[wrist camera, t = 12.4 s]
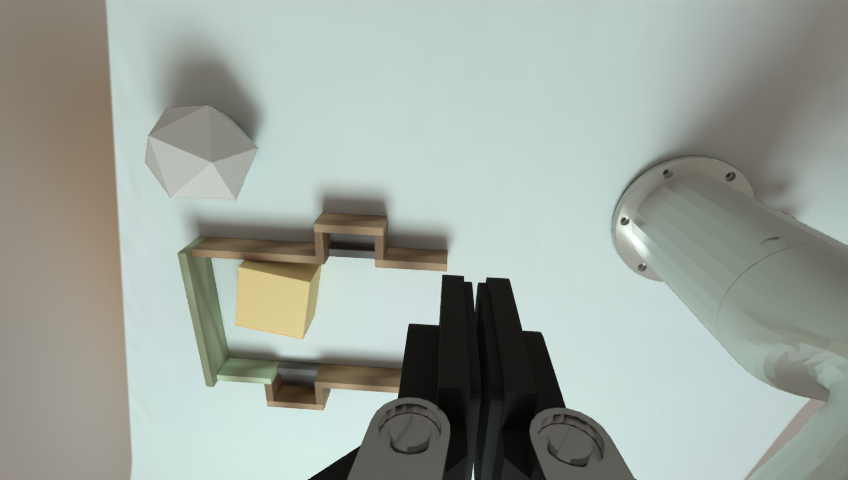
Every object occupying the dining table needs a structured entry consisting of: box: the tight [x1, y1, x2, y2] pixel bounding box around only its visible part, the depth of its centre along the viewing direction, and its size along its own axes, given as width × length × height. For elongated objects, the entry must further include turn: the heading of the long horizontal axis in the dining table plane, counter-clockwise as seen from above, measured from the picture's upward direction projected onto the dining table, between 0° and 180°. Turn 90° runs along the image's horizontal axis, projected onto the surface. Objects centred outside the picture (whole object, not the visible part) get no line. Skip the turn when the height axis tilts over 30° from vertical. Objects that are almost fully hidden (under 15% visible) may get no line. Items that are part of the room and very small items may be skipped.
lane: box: [178, 213, 447, 410], centre depth 47 cm, size 26×23×4 cm
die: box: [145, 105, 258, 200], centre depth 38 cm, size 8×9×10 cm
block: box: [236, 260, 322, 340], centre depth 45 cm, size 7×7×4 cm
